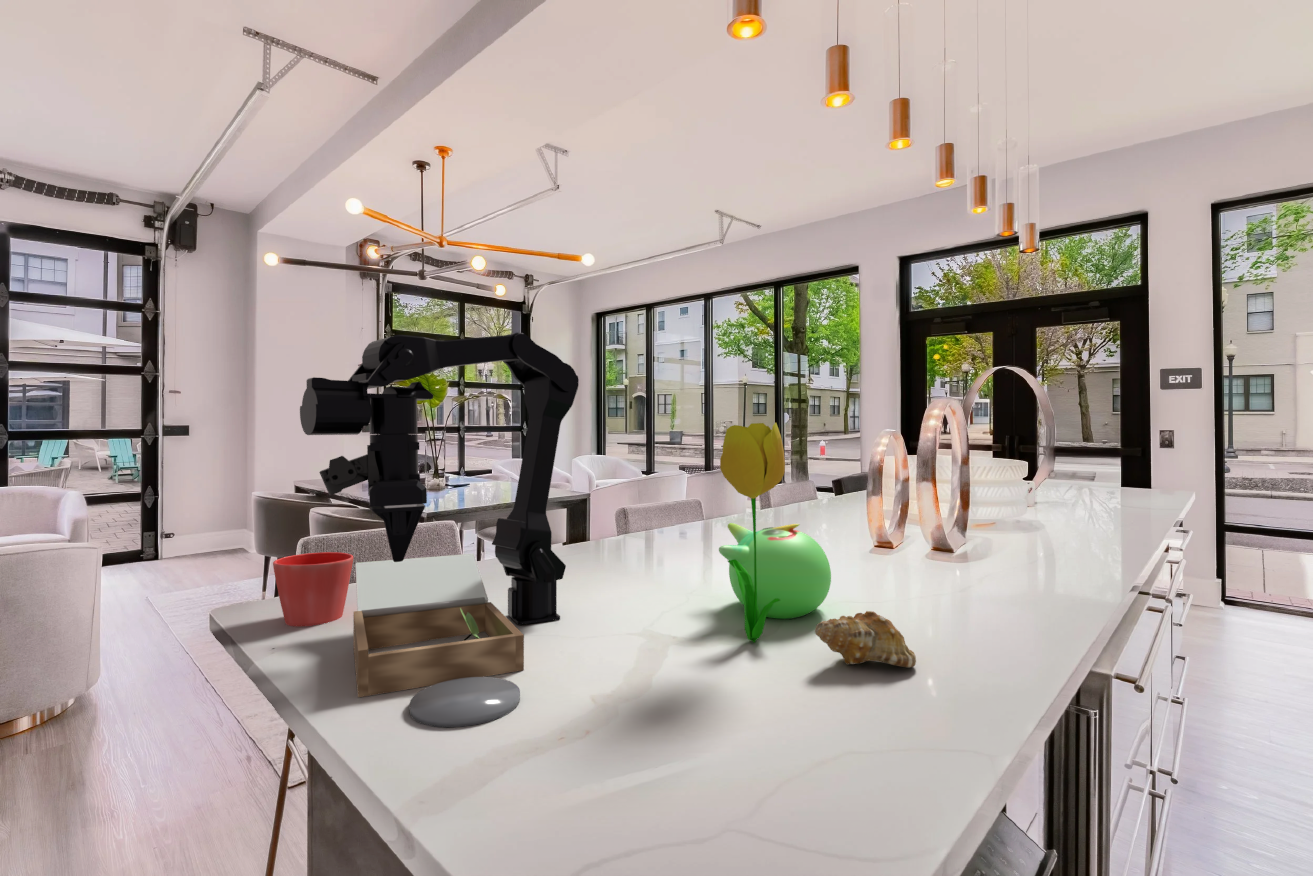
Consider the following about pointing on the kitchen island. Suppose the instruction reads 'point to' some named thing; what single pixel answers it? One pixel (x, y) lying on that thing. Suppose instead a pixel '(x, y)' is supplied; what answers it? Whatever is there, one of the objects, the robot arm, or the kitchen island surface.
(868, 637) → the seashell
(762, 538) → the round green toy
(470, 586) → the lid
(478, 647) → the box
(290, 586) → the flower pot
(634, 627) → the kitchen island surface
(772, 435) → the flower
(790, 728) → the kitchen island surface
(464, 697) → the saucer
